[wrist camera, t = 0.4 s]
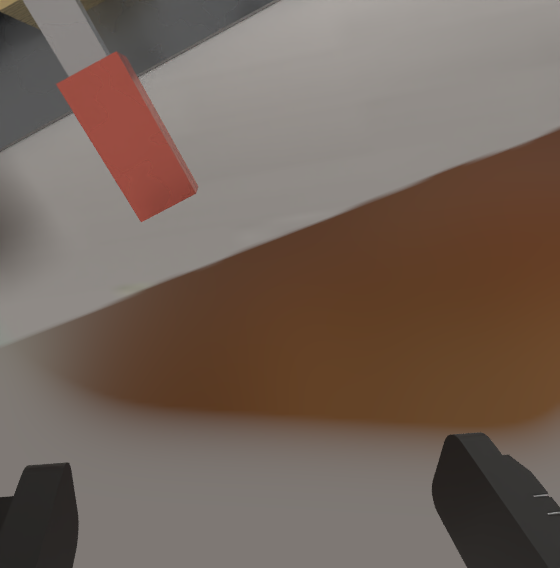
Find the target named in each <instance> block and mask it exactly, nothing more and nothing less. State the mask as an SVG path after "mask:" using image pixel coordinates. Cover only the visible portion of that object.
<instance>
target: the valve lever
mask: <svg viewBox="0 0 560 568" xmlns="http://www.w3.org/2000/svg"><path fill="white" fill-rule="evenodd" d="M23 2H24V3H25V5H26V7H27V8H28V10H29V12H30V13H31V15H32V17H33V18H34V20H35V22H36V23H37V25H38V27H39V28H40V30H41V31H42V33H43V35H44V36H45V38H46V40H47V41H48V43H49V45H50V46H51V48H52V50H53V51H54V53H55V55H56V56H57V58H58V60H59V61H60V63H61V65H62V66H63V68H64V70H65V71H66V73H67V74H68V76H69V77H68V78H66V79H64V80H62V81H61V82H59V83H57V84H56V85H57V87H58V88H59V90H60V92H61V93H62V95H63V96H64V98H65V100H66V101H67V103H68V105H69V106H70V108H71V109H72V111H73V113H74V114H75V116H76V117H77V119H78V121H79V122H80V124H81V126H82V127H83V129H84V130H85V132H86V134H87V135H88V137H89V139H90V140H91V142H92V143H93V145H94V147H95V148H96V150H97V151H98V153H99V155H100V156H101V158H102V160H103V161H104V163H105V164H106V166H107V168H108V169H109V171H110V173H111V174H112V176H113V177H114V179H115V181H116V182H117V184H118V186H119V187H120V189H121V190H122V192H123V194H124V195H125V197H126V198H127V200H128V202H129V203H130V205H131V207H132V208H133V210H134V211H135V213H136V215H137V216H138V218H139V220H140V221H141V222H142V221H144V220H146V219H148V218H150V217H152V216H154V215H156V214H158V213H160V212H162V211H164V210H165V209H167V208H169V207H171V206H173V205H175V204H177V203H179V202H181V201H183V200H185V199H186V198H188V197H190V196H192V195H194V194H196V192H197V189H198V185H197V183H196V182H195V180H194V178H193V176H192V174H191V172H190V171H189V169H188V167H187V165H186V163H185V162H184V160H183V158H182V156H181V154H180V153H179V151H178V149H177V147H176V145H175V144H174V142H173V140H172V138H171V136H170V135H169V133H168V131H167V129H166V127H165V126H164V124H163V122H162V120H161V118H160V117H159V115H158V113H157V111H156V109H155V108H154V106H153V104H152V102H151V100H150V99H149V97H148V95H147V93H146V91H145V90H144V88H143V86H142V84H141V82H140V81H139V79H138V77H137V75H136V73H135V72H134V70H133V68H132V66H131V64H130V63H129V61H128V59H127V57H126V56H124V55H122V54H120V53H119V52H117V51H116V52H114V53H112V54H110V53H109V51H108V49H107V47H106V46H105V44H104V42H103V40H102V39H101V37H100V35H99V33H98V32H97V30H96V28H95V26H94V24H93V23H92V21H91V19H90V17H89V16H88V14H87V12H86V10H85V9H84V7H83V5H82V3H81V1H80V0H23Z"/></svg>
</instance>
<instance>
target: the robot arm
mask: <svg viewBox="0 0 560 568" xmlns="http://www.w3.org/2000/svg"><path fill="white" fill-rule="evenodd" d="M432 496H433V501H434V505H435V508H436V510H437V512H438V514H439V516H440V518H441V520H442V522H443V524H444V525H445V527H446V529H447V531H448V533H449V535H450V537H451V538H452V540H453V542H454V544H455V546H456V548H457V549H458V551H459V553H460V555H461V557H462V559H463V561H464V562H465V564H466V566H467V568H560V507H559V506H558V505H557V503H556V502H555V501H554V500H553V499H552V497H549V496H548V492H547V491H546V490H545V488H544V487H543V486H542V485H541V484H540V482H539V481H538V480H537V479H536V477H535V476H534V475H533V474H532V473H531V471H529V470H528V469H526V468H525V467H524V466H523V465H521V464H520V463H519V462H517V461H516V460H515V459H513V458H512V457H511V456H509V455H502V454H501V453H500V451H499V450H498V449H497V447H496V446H495V445H494V444H493V442H492V441H491V440H490V438H489V437H488V436H486V435H485V434H484V433H467V434H454V435H449V436H447V438H446V439H445V442H444V445H443V448H442V452H441V455H440V458H439V462H438V465H437V469H436V472H435V475H434V479H433V483H432ZM77 540H78V511H77V504H76V498H75V492H74V485H73V478H72V471H71V467H70V464H69V463H56V464H43V465H29V466H27V467H26V468H25V469H24V471H23V473H22V475H21V478H20V481H19V483H18V486H17V489H16V491H15V494H14V496H12V497H0V568H72V567H73V563H74V558H75V553H76V548H77Z"/></svg>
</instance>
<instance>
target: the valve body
mask: <svg viewBox="0 0 560 568" xmlns="http://www.w3.org/2000/svg"><path fill="white" fill-rule="evenodd" d="M80 1H81V3H82V5H83V7H84V9H85V10H86V12H87V14H88V16H89V17H90V19H91V21H92V23H93V24H94V26H95V28H96V30H97V32H98V33H99V35H100V37H101V39H102V40H103V42H104V44H105V46H106V47H107V49H108V51H109V53H110V54H112V53H114V52H116V51H117V52H119V53H120V54H122V55H124V56H126V57H127V59H128V61H129V63H130V64H131V66H132V68H133V70H134V72H135V73H136V75H137V77H139V76H141V75H143V74H145V73H146V72H148V71H150V70H152V69H154V68H156V67H157V66H159V65H161V64H163V63H165V62H167V61H169V60H170V59H172V58H174V57H176V56H178V55H180V54H182V53H183V52H185V51H187V50H189V49H191V48H193V47H194V46H196V45H198V44H200V43H202V42H204V41H206V40H207V39H209V38H211V37H213V36H215V35H217V34H219V33H220V32H222V31H224V30H226V29H228V28H230V27H231V26H233V25H235V24H237V23H239V22H241V21H243V20H244V19H246V18H248V17H250V16H252V15H254V14H255V13H257V12H259V11H261V10H263V9H265V8H267V7H268V6H270V5H272V4H274V3H276V2H278V1H280V0H80ZM68 77H69V76H68V74H67V73H66V71H65V70H64V68H63V66H62V65H61V63H60V61H59V60H58V58H57V56H56V55H55V53H54V51H53V50H52V48H51V46H50V45H49V43H48V41H47V40H46V38H45V36H44V35H43V33H42V31H41V30H40V28H39V27H38V25H37V23H36V22H35V20H34V18H33V17H32V15H31V13H30V12H29V10H28V8H27V7H26V5H25V3H24V2H23V0H0V151H2V150H4V149H6V148H8V147H10V146H11V145H13V144H15V143H17V142H19V141H21V140H22V139H24V138H26V137H28V136H30V135H32V134H34V133H35V132H37V131H39V130H41V129H43V128H45V127H47V126H48V125H50V124H52V123H54V122H56V121H58V120H59V119H61V118H63V117H65V116H67V115H69V114H71V113H72V112H73V111H72V109H71V108H70V106H69V105H68V103H67V101H66V100H65V98H64V96H63V95H62V93H61V92H60V90H59V88H58V87H57V85H56V84H57V83H59V82H61V81H62V80H64V79H66V78H68Z"/></svg>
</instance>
